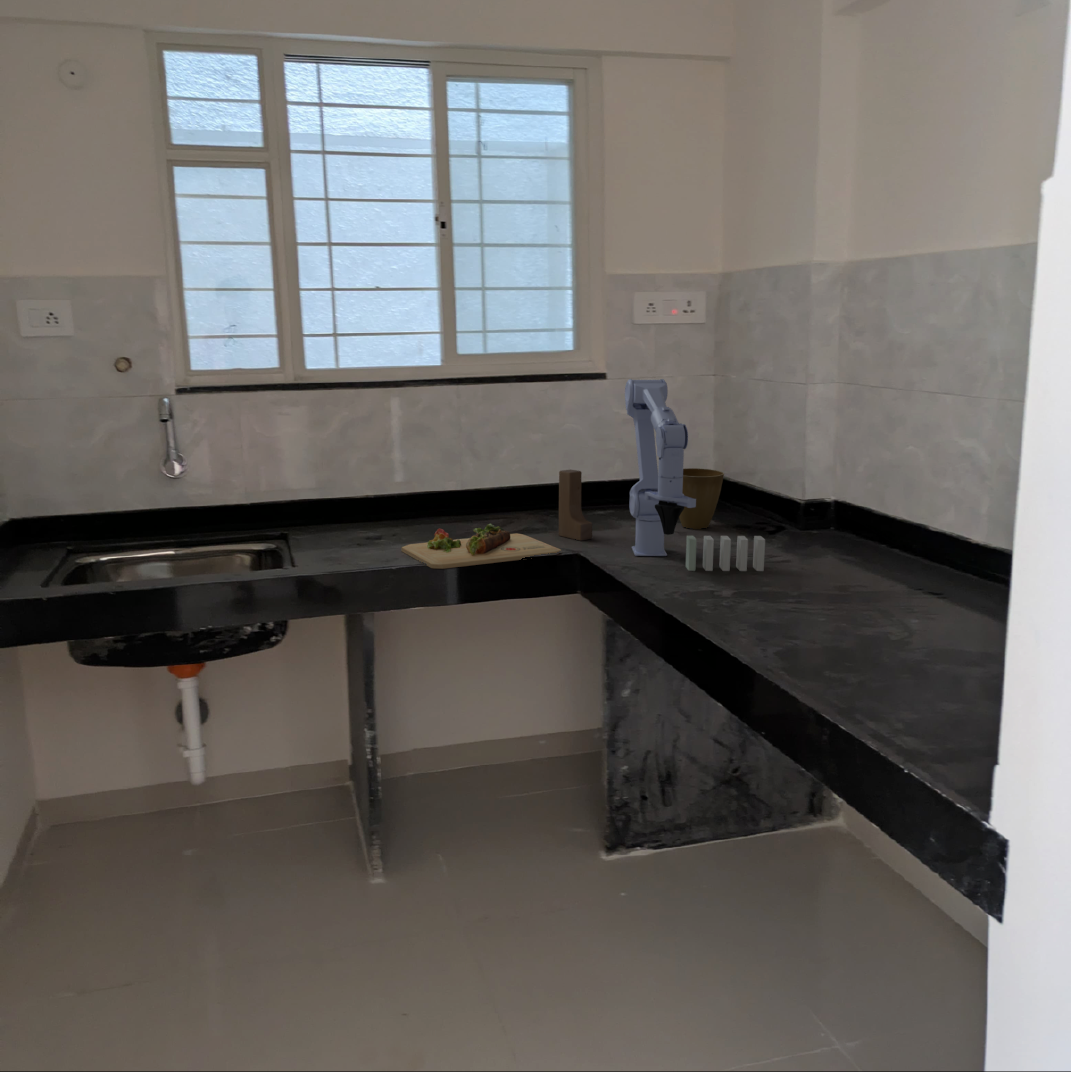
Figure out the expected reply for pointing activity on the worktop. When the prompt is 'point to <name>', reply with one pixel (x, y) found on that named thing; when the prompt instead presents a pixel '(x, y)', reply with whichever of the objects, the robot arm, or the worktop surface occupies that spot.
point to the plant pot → (700, 496)
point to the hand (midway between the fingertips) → (668, 533)
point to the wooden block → (572, 507)
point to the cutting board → (477, 548)
